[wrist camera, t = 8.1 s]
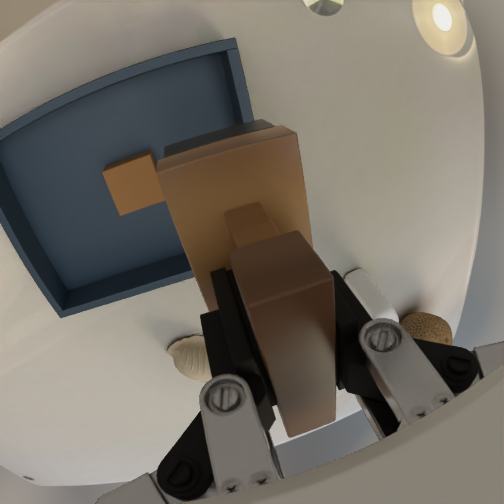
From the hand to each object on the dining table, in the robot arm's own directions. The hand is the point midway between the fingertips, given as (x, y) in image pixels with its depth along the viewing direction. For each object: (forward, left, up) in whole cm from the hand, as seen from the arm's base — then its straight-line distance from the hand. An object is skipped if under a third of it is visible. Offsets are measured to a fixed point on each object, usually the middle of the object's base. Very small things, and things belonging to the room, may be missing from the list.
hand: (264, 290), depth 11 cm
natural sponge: (+32, +23, -17) cm, 43 cm away
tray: (0, -7, -17) cm, 19 cm away
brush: (0, 0, -4) cm, 4 cm away
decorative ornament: (+22, -7, -17) cm, 29 cm away
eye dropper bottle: (+20, +13, -17) cm, 29 cm away
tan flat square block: (0, -6, -17) cm, 18 cm away
